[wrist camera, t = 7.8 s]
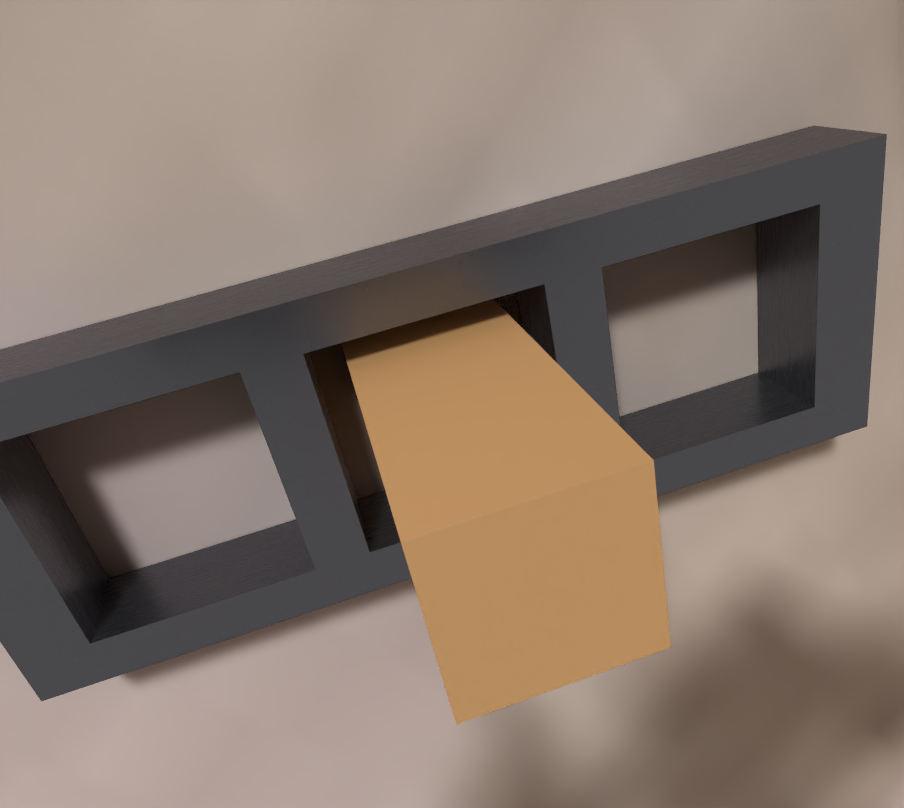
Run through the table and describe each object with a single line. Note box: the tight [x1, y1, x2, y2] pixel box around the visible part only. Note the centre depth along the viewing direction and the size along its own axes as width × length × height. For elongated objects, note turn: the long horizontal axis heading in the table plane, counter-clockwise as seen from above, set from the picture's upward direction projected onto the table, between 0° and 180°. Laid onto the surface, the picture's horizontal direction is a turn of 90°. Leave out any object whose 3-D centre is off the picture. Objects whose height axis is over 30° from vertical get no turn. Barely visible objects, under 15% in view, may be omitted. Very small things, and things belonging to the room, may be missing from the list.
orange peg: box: [341, 299, 671, 724], centre depth 16 cm, size 4×4×9 cm
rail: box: [0, 126, 887, 701], centre depth 19 cm, size 23×8×2 cm, turn 102°
